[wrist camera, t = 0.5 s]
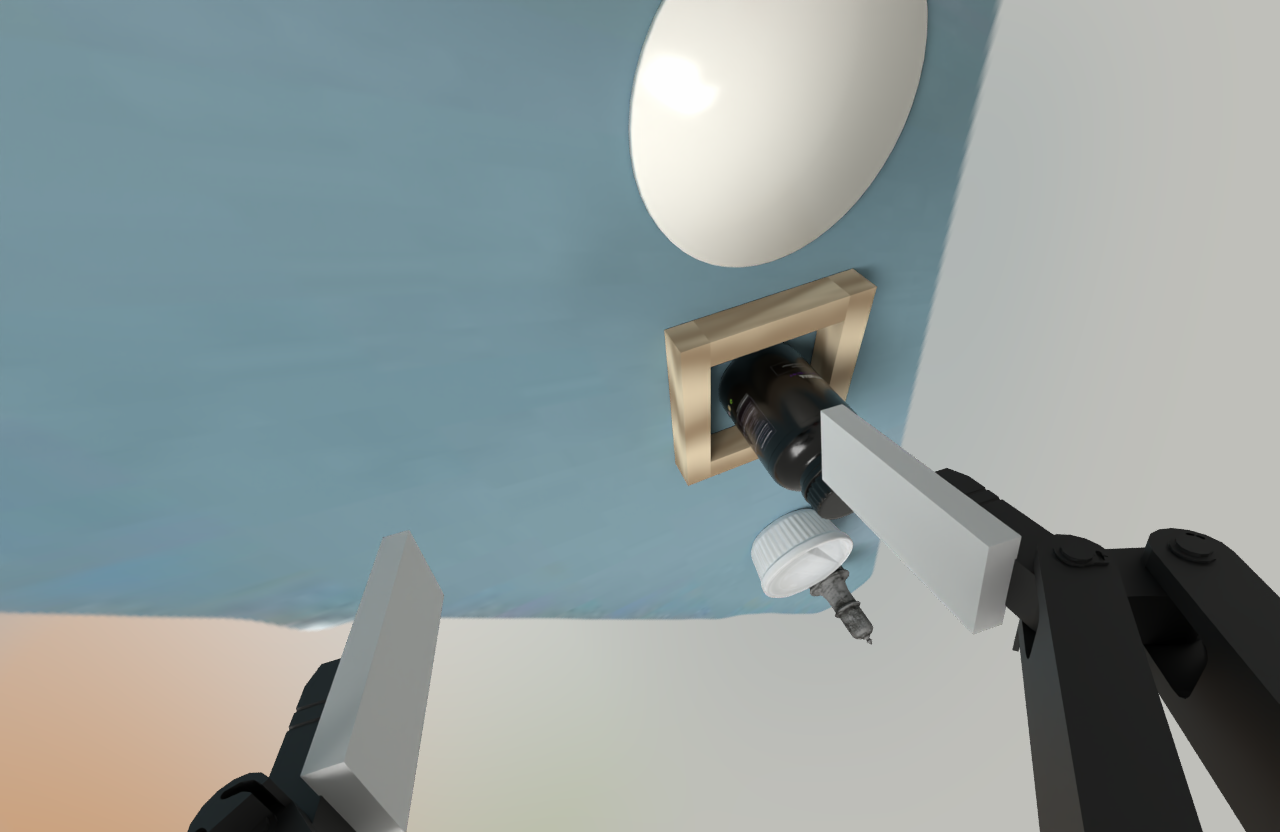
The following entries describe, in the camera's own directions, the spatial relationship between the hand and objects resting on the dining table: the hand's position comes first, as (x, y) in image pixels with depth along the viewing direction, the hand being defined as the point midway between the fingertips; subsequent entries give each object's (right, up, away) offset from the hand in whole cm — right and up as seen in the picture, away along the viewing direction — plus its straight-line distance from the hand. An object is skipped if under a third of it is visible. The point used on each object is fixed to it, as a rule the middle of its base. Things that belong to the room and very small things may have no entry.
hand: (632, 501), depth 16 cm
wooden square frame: (+9, +6, +23) cm, 25 cm away
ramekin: (+17, -11, +45) cm, 49 cm away
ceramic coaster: (+7, +18, +10) cm, 22 cm away
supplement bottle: (+9, +6, +23) cm, 25 cm away
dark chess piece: (+24, -17, +54) cm, 62 cm away
